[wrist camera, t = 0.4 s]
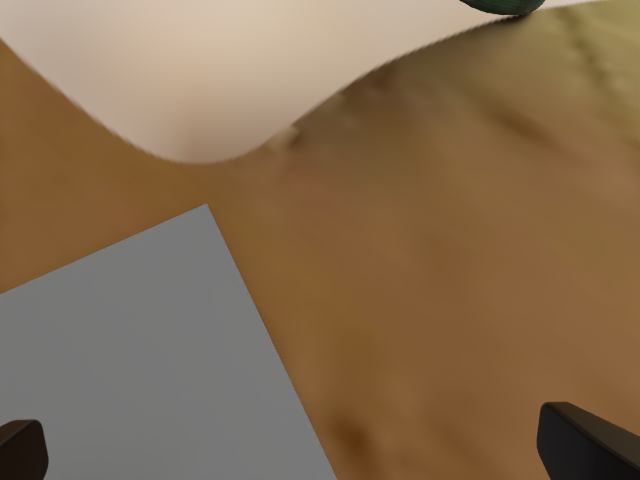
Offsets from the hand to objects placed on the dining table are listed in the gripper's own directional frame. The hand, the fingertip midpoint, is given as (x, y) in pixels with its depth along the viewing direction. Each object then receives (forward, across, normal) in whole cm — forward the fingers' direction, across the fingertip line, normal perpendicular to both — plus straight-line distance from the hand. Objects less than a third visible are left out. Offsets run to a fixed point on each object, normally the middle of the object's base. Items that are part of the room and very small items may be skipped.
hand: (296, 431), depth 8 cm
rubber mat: (+12, +8, +7) cm, 17 cm away
